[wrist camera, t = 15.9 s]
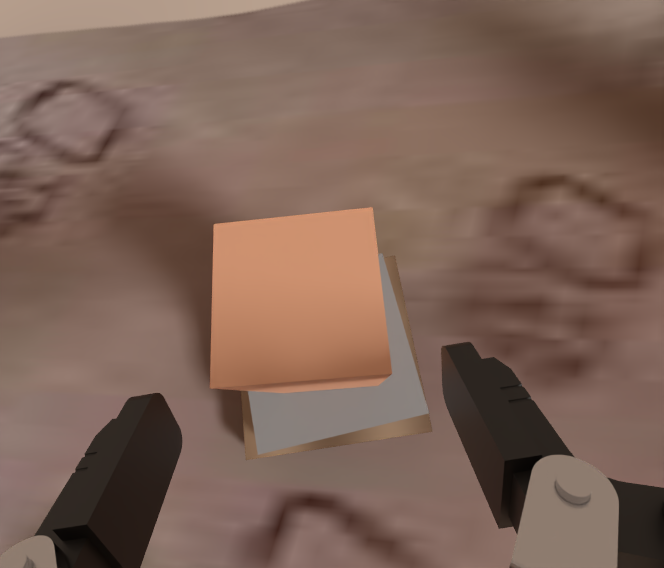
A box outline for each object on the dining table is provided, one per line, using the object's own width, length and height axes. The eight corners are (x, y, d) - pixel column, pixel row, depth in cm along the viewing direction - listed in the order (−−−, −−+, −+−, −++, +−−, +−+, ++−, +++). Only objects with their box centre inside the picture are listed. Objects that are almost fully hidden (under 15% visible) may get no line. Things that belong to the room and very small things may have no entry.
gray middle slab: (380, 270, 24) (382, 253, 22) (420, 410, 22) (429, 413, 19) (247, 302, 25) (232, 290, 22) (271, 446, 22) (257, 454, 19)
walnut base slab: (391, 270, 28) (394, 255, 25) (424, 427, 24) (432, 431, 21) (245, 294, 28) (232, 282, 25) (259, 452, 25) (245, 460, 22)
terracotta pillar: (368, 294, 21) (372, 207, 11) (378, 385, 19) (392, 373, 10) (280, 302, 21) (213, 224, 12) (283, 393, 20) (209, 388, 10)
